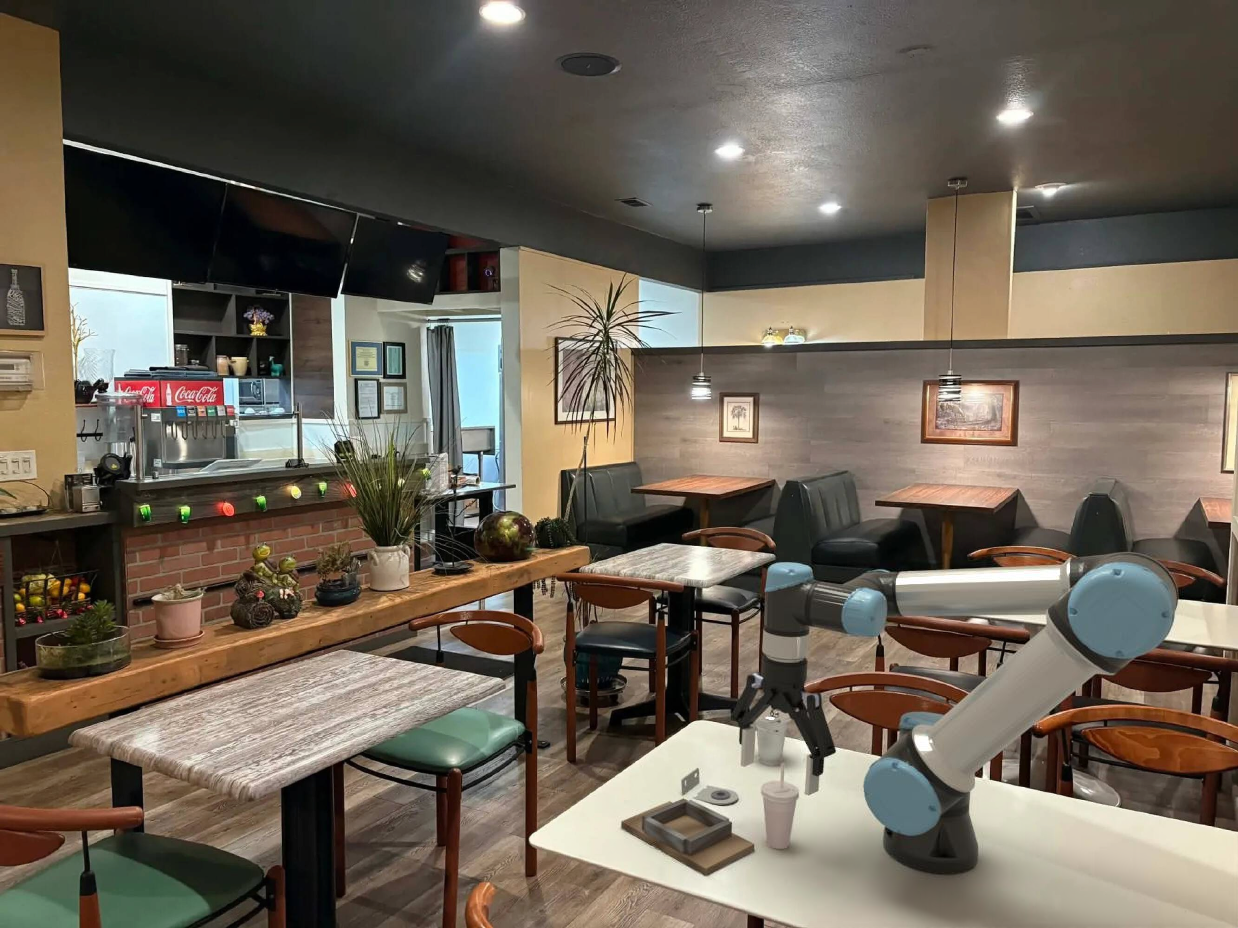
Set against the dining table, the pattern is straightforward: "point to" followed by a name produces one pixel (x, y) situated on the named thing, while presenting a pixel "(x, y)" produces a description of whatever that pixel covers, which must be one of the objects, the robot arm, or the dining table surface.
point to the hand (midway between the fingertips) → (778, 777)
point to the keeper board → (690, 835)
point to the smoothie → (779, 810)
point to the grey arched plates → (708, 791)
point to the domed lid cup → (771, 735)
